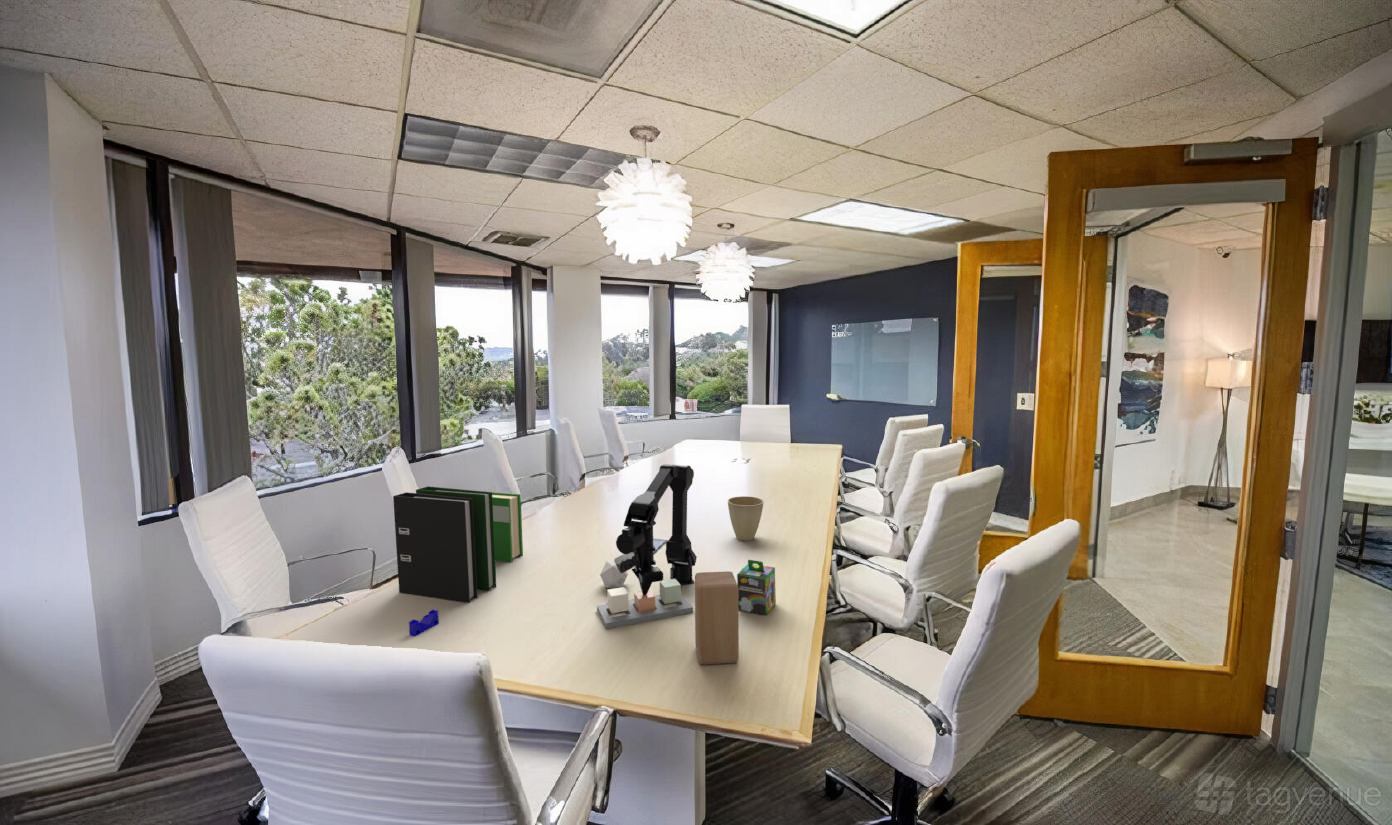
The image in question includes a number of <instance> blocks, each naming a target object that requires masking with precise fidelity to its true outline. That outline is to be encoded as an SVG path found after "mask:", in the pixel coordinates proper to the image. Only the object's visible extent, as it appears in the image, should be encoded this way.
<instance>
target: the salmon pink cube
mask: <svg viewBox="0 0 1392 825" xmlns="http://www.w3.org/2000/svg"><path fill="white" fill-rule="evenodd" d="M633 596H634V597H633V599H634V608H635V609H636V611H637V612H643V611H649V610H654V609H655V596H656V595H655V594H654V593H653V591H652V590H651V589H649V590H648V593H647V594H646V595H643V594H642V590H640V591H635V592H633Z"/></svg>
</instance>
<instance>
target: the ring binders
mask: <svg viewBox="0 0 1392 825" xmlns="http://www.w3.org/2000/svg"><path fill="white" fill-rule="evenodd" d="M492 492H493V491H486V492H484V490H483V491H482V490H471V489H462V488H461V489H458V488H449V487H440V486H439V487H438V486H429V485H428V486H424V487H422V488H417V489H415V492H406V491H405V492H404V493H400V494H396V495H393V497H392V498H393V511H394V513H393V514H394V528H395V529H394V530H395V531H394V533H395V547H396V564H397V576H398V577H397V581H398V590H399V591H398V594H403V595H409V596H417V597H422V598H423V597H424V598H431V599H438V600H446V601H452V602H458V603H465V604H470V603H471V599H478V591H482V592H490V588H495V589H496V588H497V570H496V560H495V545H494V523H493V501H492Z"/></svg>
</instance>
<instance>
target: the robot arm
mask: <svg viewBox="0 0 1392 825" xmlns="http://www.w3.org/2000/svg"><path fill="white" fill-rule="evenodd" d="M694 478H695V471H694V469H693V468H692V466H690V465H685V464H669V463H664V464H661V465H660V466H659V470H658V472H657V474H656V475H655V477H654V478H653V480H652V481H651V483H650V484H649V485H648V487H647V489H646V490H645V492H643V493H641V494H639V495H638V496H636V497H635V498H634V499H633V501H632V502H631V503H630V505H629V506H628V510H627V513H626V516H625V519H624V522H623V527H624V528H623V529H622V530H621V534H619V535H618V536H617V538H616V541H615V545H616V548H617V550H618V551H619V552H620V553H621V555H619V556H617V557H615V558H614V559H613V561H615V563H616V566H617V568H618V570H619V571H620V573H624V572H626V571H627V572H628V571H629V570H631V571H632V573H633V574H634V575H635V577H636V578H637V580H638V582H639V586H640V591H642V594H643V595H646V594H647V593H648V590H650V588H651V586H652V584H653V583H657V582H660V581H664V573H663V571H662V570H661V569H660V568H659V567H658V566H656V563H657V562H656V560H655V559H654V556H655V555H654V552H656V547H655V546H654V526H655V525H656V524H657V522H656V517H657V515H658V512H659V511H660V510H659V503H660V501H661V499H662V497H663V496H664V494H665V493H666V491H667V489H668V487H669V488H670V490H671V492H672V504H671V505H672V509H671V510H672V512H671V516H672V518H671V536H670V537H669V539H668V540H667V541H666V542H665V556H666V562H667V564H669V565H670V564H671V567H670V569H669V572H670V573H669V574H670V576H669V578H670V579H676V580H677V581H678V582H679V584H680V585H681V586H683V585H688V584H695V579H693V567H695V566H696V563H697V558H698V557H697V555H696V554H695V552H694V551H693V549H692V542H691V539H690V538H689V535H687V534H688V531H687V530H688V529H687V528H688V526H687V525H688V491H689V489H690V488H691V486H692V485H693V480H694ZM625 527H626V528H625ZM670 579H669V580H670Z"/></svg>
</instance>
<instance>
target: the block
mask: <svg viewBox="0 0 1392 825" xmlns="http://www.w3.org/2000/svg"><path fill="white" fill-rule="evenodd" d="M736 580H737V579H736V578H735V576H734V573H733V572H732V571H726V570H725V571H713V572H712V571H705V572H702V571H701V572H696V573H695V575H694V609H695V610H694V621H695V622H694V623H695V624H694V627H695V628H694V630H695V631H694V634H695V636H694V637H695V638H694V639H695V640H694V641H695V642H694V643H695V649H696V656H697V661H698V663H699V665H718V664H720V665H721V664H734V663H737V662H739V658H740V657H739V655H740V654H739V646H740V645H739V639H740V638H739V635H740V634H739V627H740V626H739V621H740V620H739V614H740V613H739V610H738V585H737V581H736Z"/></svg>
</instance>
